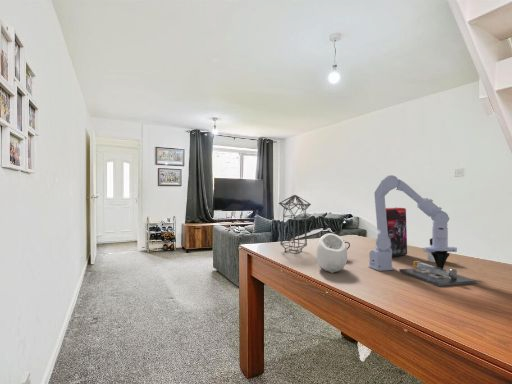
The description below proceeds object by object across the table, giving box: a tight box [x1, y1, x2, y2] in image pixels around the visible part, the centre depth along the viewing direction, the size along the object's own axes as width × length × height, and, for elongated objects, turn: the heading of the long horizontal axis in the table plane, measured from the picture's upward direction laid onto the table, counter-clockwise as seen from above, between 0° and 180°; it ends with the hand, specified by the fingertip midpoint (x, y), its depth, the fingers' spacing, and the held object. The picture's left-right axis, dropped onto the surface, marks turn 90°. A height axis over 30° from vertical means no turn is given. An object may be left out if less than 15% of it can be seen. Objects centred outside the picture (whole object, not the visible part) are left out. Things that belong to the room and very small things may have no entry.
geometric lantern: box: [278, 194, 312, 255], centre depth 173 cm, size 16×16×35 cm
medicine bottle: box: [427, 238, 436, 264], centre depth 149 cm, size 7×7×12 cm
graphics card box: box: [386, 207, 408, 258], centre depth 163 cm, size 17×7×27 cm, turn 119°
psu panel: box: [398, 267, 477, 288], centre depth 121 cm, size 18×21×2 cm
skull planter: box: [315, 232, 348, 274], centre depth 134 cm, size 14×20×19 cm
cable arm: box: [412, 260, 458, 281], centre depth 121 cm, size 21×3×4 cm, turn 12°
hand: (440, 268), depth 126 cm, fingers closed
